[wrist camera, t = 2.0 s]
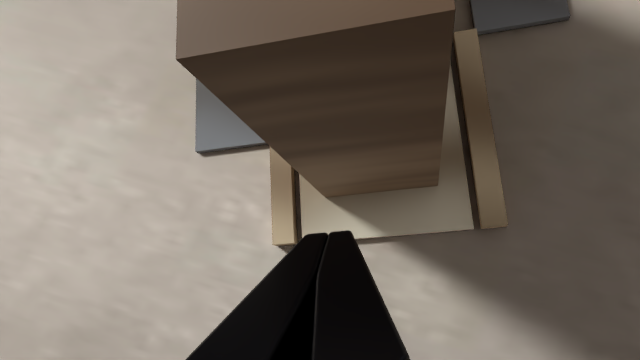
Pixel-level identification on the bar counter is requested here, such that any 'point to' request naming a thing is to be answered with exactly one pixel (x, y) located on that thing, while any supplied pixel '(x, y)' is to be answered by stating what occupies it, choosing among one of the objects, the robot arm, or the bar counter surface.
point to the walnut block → (330, 83)
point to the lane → (408, 204)
